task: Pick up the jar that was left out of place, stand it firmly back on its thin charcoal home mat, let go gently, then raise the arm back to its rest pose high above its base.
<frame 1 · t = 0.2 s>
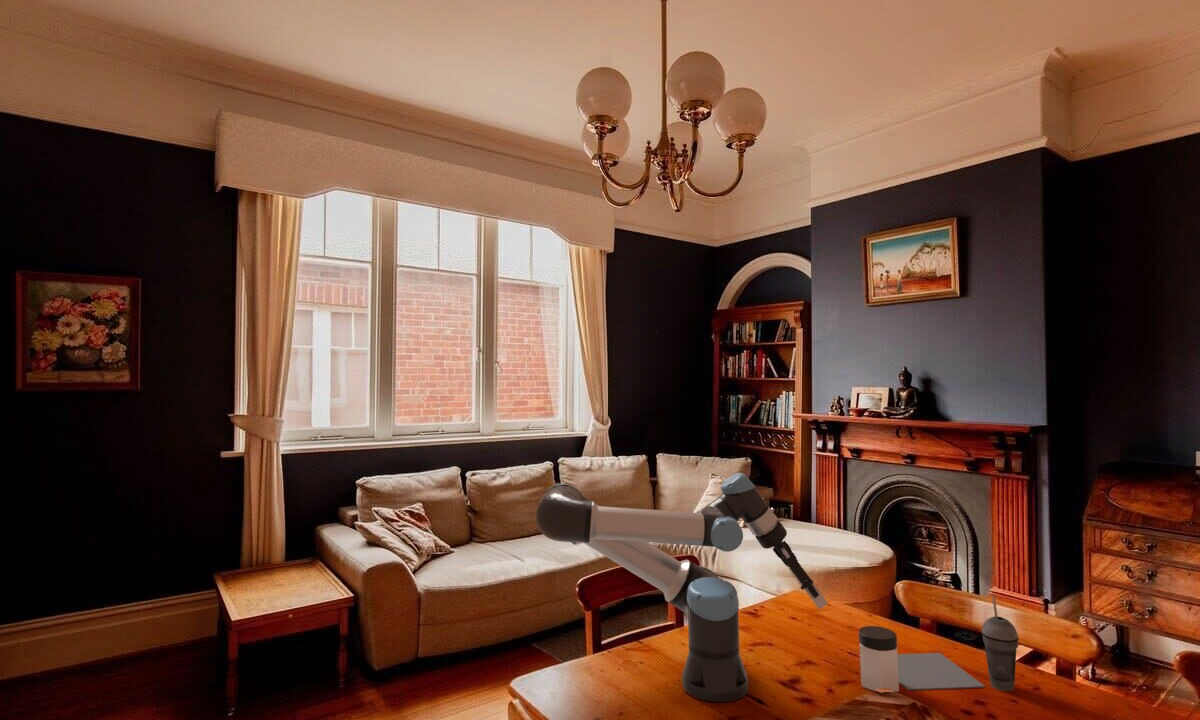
hand: (815, 595, 160), 16 cm above the table, tool tilted 35°, fingers open, 13 cm apart
beverage cup: (1002, 687, 143), on the table
home mat: (924, 671, 151), on the table
jar: (879, 685, 145), on the table
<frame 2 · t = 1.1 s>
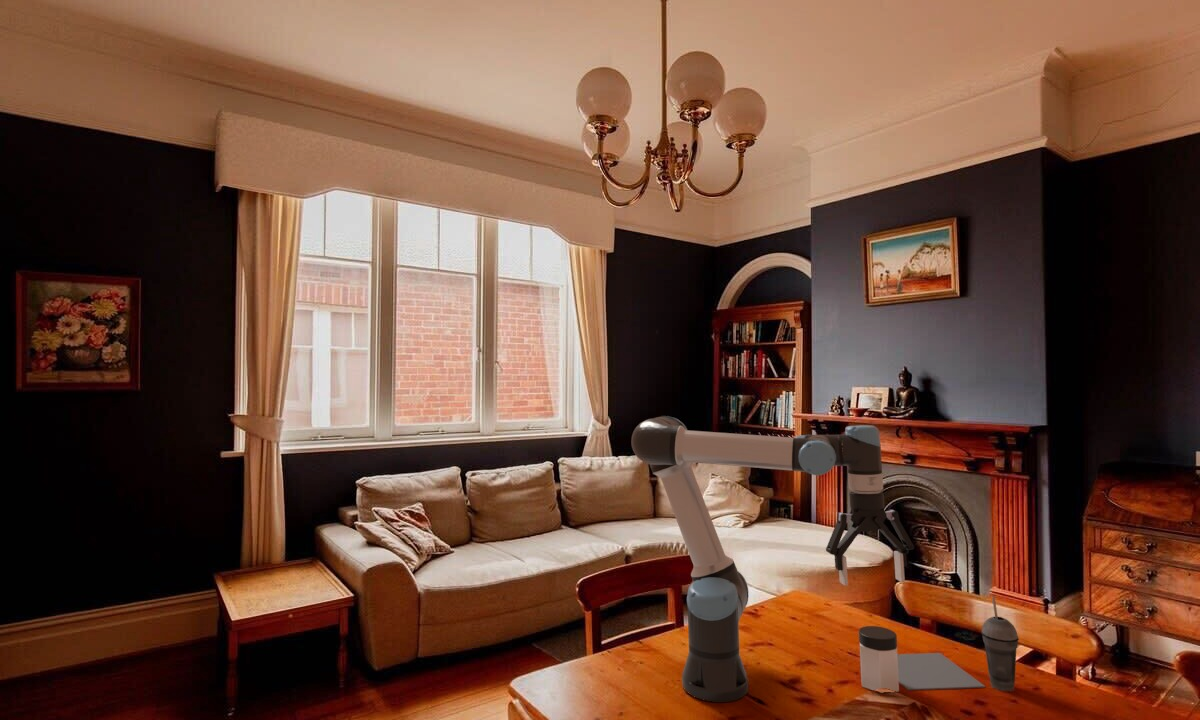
hand: (872, 582, 147), 23 cm above the table, tool pointing down, fingers open, 13 cm apart
nothing on the table moved.
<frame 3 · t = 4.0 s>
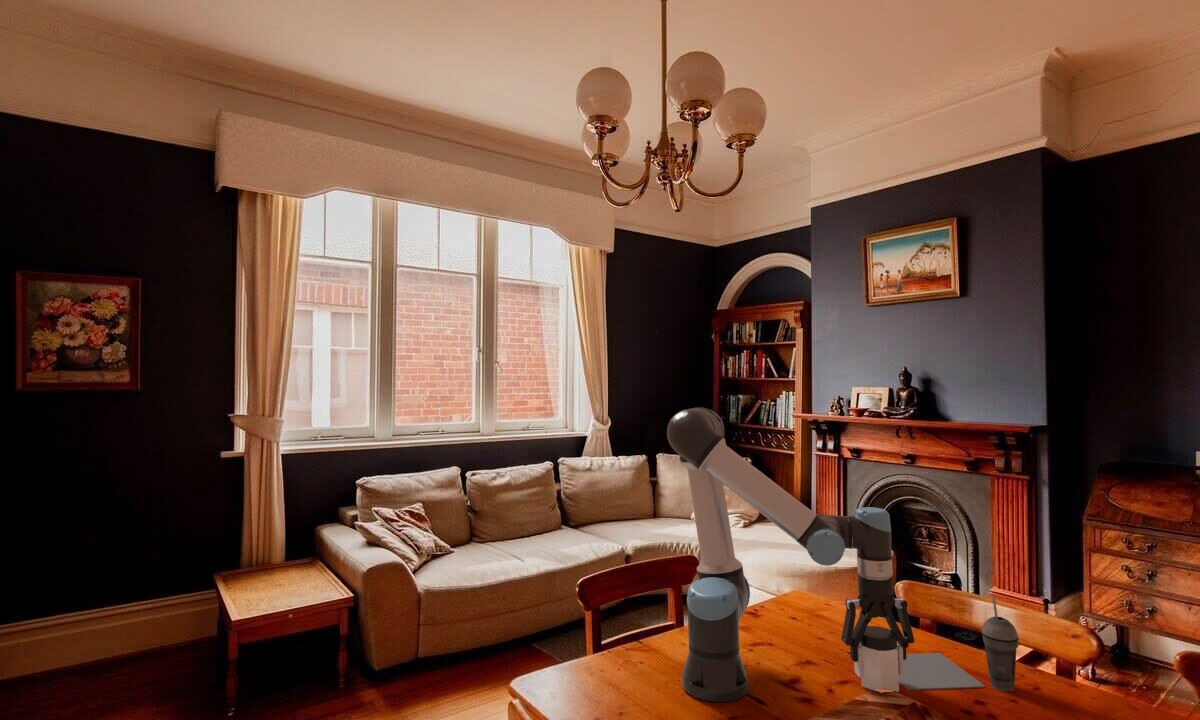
hand: (879, 674, 145), 2 cm above the table, tool pointing down, fingers closed on jar, 9 cm apart
jar: (879, 685, 145), on the table, touching gripper
everything else where it was.
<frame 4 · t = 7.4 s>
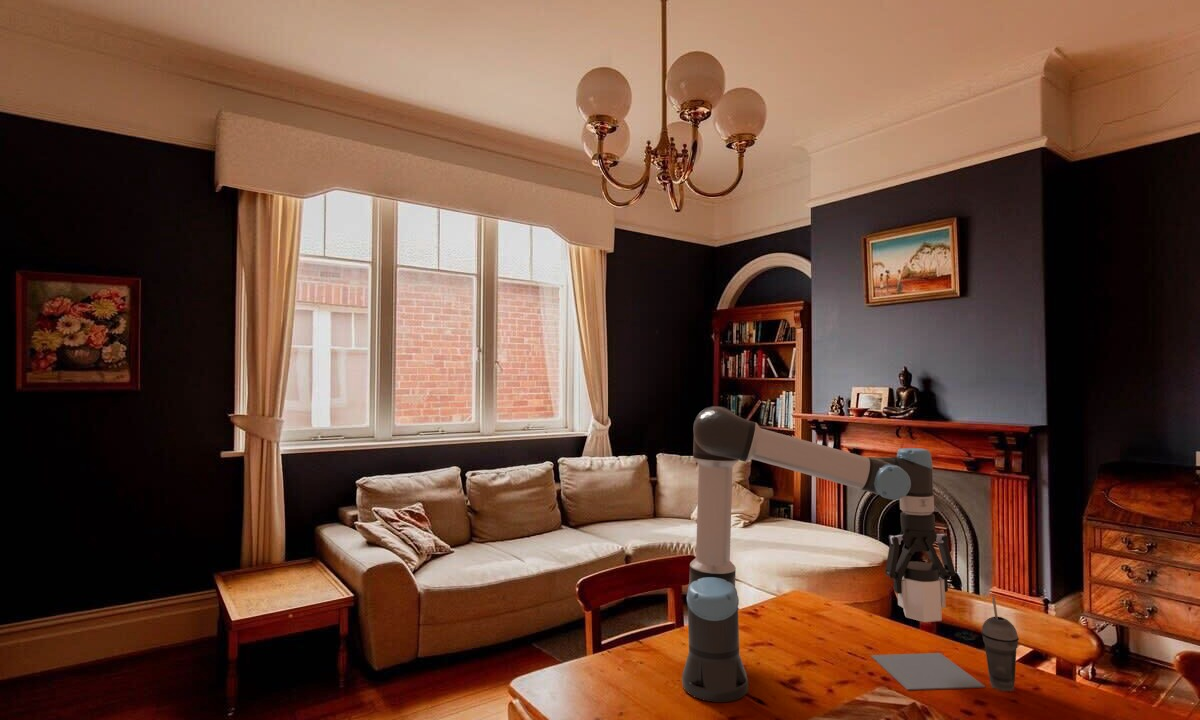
hand: (921, 605, 152), 16 cm above the table, tool pointing down, fingers closed on jar, 9 cm apart
jar: (922, 616, 152), point 13 cm above the table, touching gripper
everything else where it was.
when the fingers open (3 cm above the table, at t = 11.1 s): jar stays where it is, resting on home mat.
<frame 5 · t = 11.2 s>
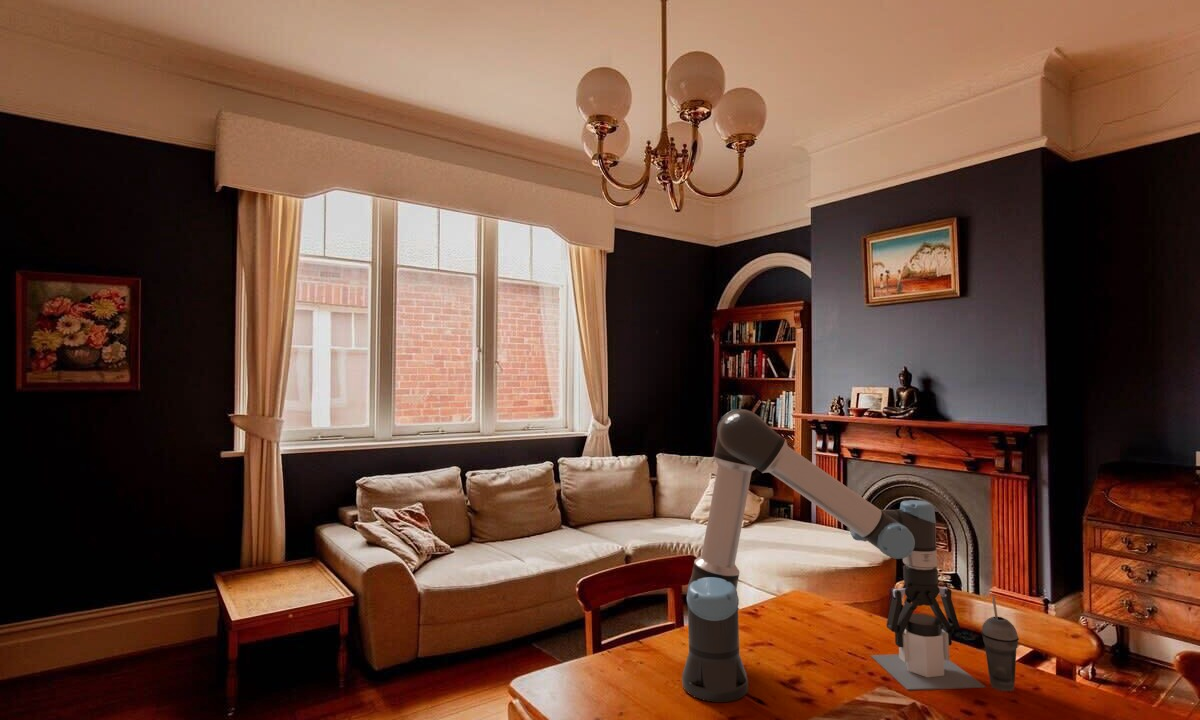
hand: (924, 659, 151), 3 cm above the table, tool pointing down, fingers open, 9 cm apart
jar: (924, 670, 151), resting on home mat
everything else where it was.
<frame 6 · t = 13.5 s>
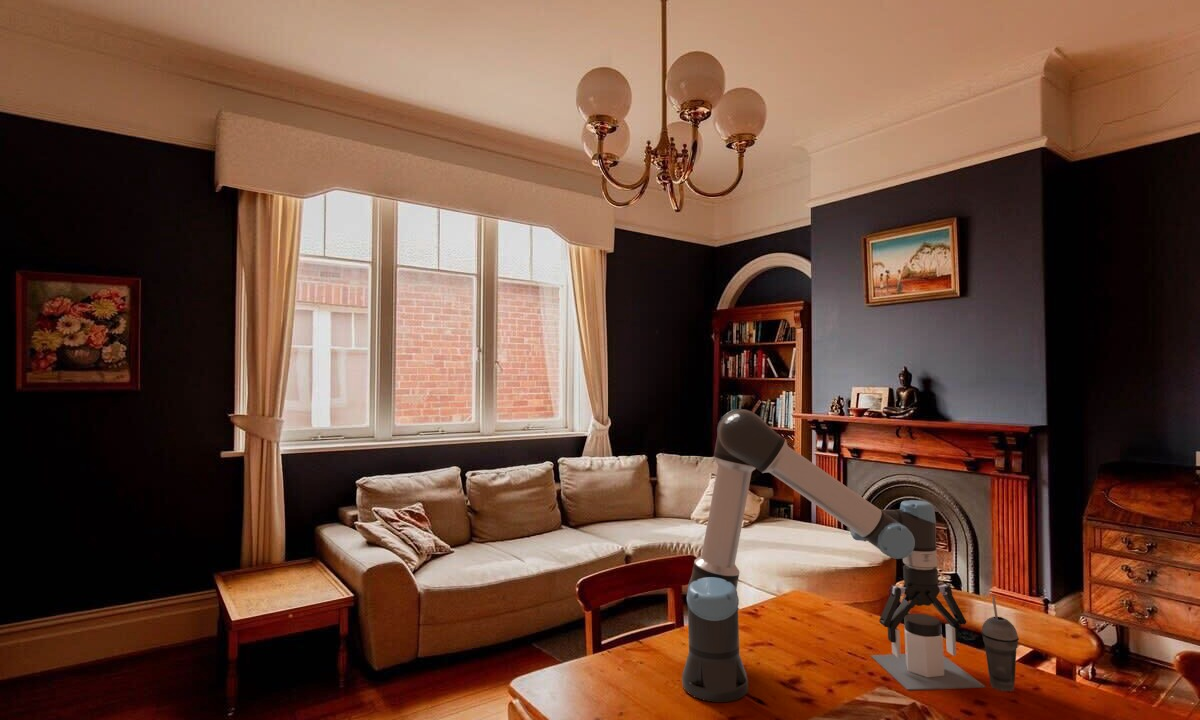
hand: (923, 654, 152), 4 cm above the table, tool pointing down, fingers open, 13 cm apart
nothing on the table moved.
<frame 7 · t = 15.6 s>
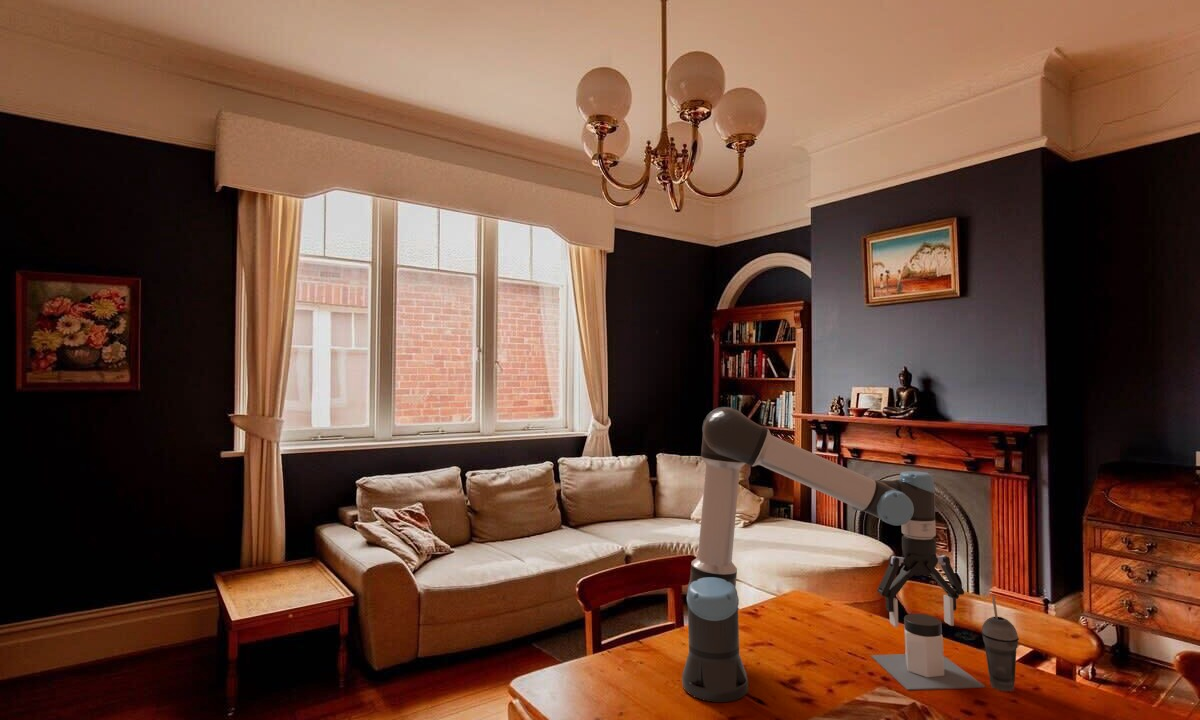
hand: (921, 624, 152), 11 cm above the table, tool pointing down, fingers open, 13 cm apart
nothing on the table moved.
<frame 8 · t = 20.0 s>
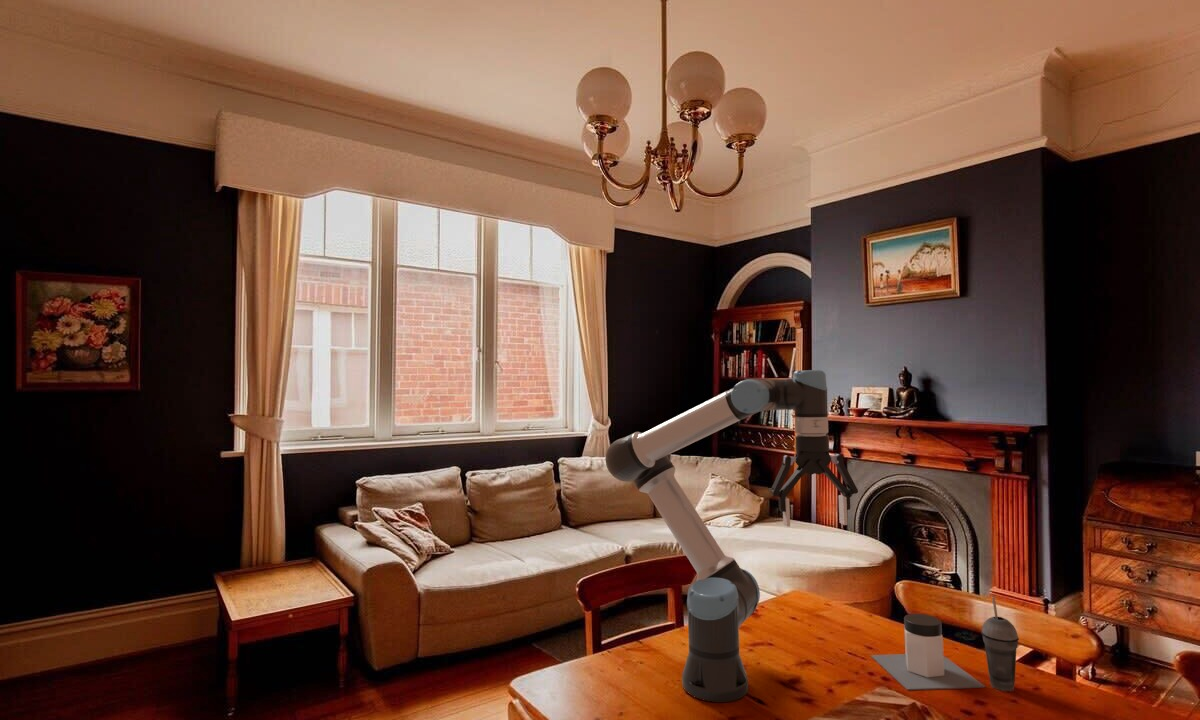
hand: (815, 524, 148), 37 cm above the table, tool pointing down, fingers open, 13 cm apart
nothing on the table moved.
at the end: jar inside the target area on the home mat (0.0 cm from its centre), point 0.1 cm above the home mat's base; jar tilted 0°; the gripper is holding nothing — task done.
